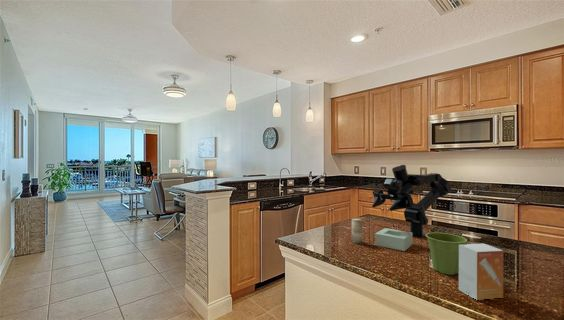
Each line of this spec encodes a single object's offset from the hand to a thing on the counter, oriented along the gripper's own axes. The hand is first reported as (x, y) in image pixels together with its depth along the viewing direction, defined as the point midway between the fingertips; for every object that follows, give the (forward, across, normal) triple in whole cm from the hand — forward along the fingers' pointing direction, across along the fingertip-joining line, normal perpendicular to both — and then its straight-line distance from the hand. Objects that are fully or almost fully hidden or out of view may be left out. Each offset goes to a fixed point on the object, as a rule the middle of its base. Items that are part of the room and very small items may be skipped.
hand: (380, 208), depth 116 cm
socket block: (+3, +3, +16) cm, 17 cm away
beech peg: (+13, -8, +11) cm, 19 cm away
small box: (+18, +43, +9) cm, 48 cm away
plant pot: (+11, +30, +13) cm, 34 cm away
